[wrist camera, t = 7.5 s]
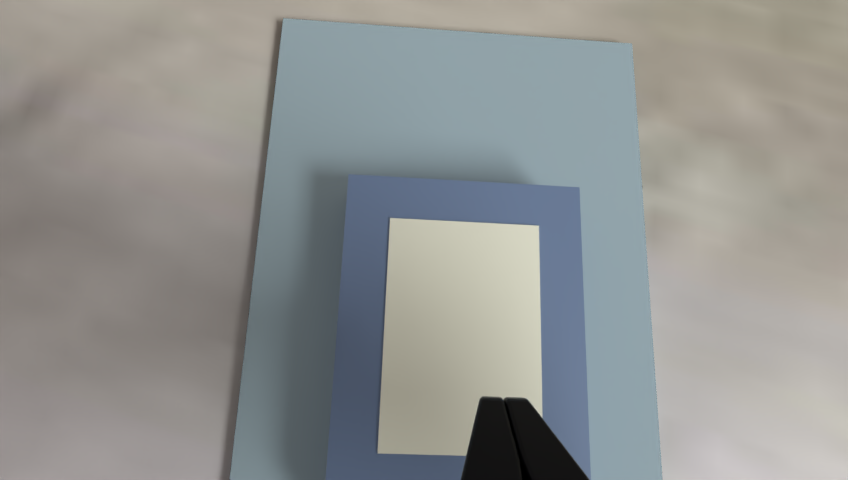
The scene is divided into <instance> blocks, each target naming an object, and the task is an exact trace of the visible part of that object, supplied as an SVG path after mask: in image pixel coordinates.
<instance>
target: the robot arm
mask: <svg viewBox="0 0 848 480" xmlns="http://www.w3.org/2000/svg"><path fill="white" fill-rule="evenodd" d="M461 480H590V479H589V478H588V477H587V475H586V474H585V473H584V472H583V470H582V469H581V468H580V466H579V465H578V464H577V462H576V461H575V460H574V459H573V457H572V456H571V455H570V453H569V452H568V451H567V449H566V448H565V447H564V446H563V444H562V443H561V442H560V440H559V439H558V438H557V436H556V435H555V434H554V433H553V431H552V430H551V429H550V427H549V426H548V425H547V423H546V422H545V421H544V420H543V418H542V417H541V416H540V414H539V413H538V412H537V410H536V409H535V408H534V406H533V405H532V404H531V403H530V401H529V400H528V399H526V398H522V397H505V398H504V399H502V398H501V397H493V396H482V397H481V398H480V399H479V403H478V407H477V412H476V416H475V420H474V424H473V429H472V433H471V437H470V441H469V446H468V450H467V454H466V458H465V463H464V467H463V471H462V476H461Z"/></svg>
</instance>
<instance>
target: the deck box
mask: <svg viewBox="0 0 848 480" xmlns="http://www.w3.org/2000/svg"><path fill="white" fill-rule="evenodd" d="M482 396H493V397H501V398H502V399H504V398H505V397H522V398H526V399H528V400H529V401H530V403H531V404H532V405H533V406H534V408H535V409H536V410H537V412H538V413H539V414H540V416H541V417H542V418H543V420H544V421H545V422H546V423H547V425H548V426H549V427H550V429H551V430H552V431H553V433H554V434H555V435H556V436H557V438H558V439H559V440H560V442H561V443H562V444H563V446H564V447H565V448H566V449H567V451H568V452H569V453H570V455H571V456H572V457H573V459H574V460H575V461H576V462H577V464H578V465H579V466H580V468H581V469H582V470H583V472H584V473H585V474H586V475H587V477H588V478H589V479H590V480H591V467H590V442H589V416H588V391H587V365H586V339H585V314H584V288H583V263H582V237H581V212H580V187H567V186H549V185H531V184H514V183H496V182H478V181H460V180H443V179H425V178H407V177H390V176H372V175H354V174H348V188H347V201H346V214H345V228H344V241H343V254H342V268H341V281H340V294H339V308H338V321H337V334H336V348H335V361H334V374H333V388H332V401H331V414H330V428H329V441H328V454H327V468H326V480H461V476H462V471H463V467H464V463H465V458H466V454H467V450H468V446H469V441H470V437H471V433H472V429H473V424H474V420H475V416H476V412H477V407H478V403H479V399H480V398H481V397H482Z"/></svg>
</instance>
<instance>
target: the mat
mask: <svg viewBox="0 0 848 480" xmlns="http://www.w3.org/2000/svg"><path fill="white" fill-rule="evenodd" d="M348 174H354V175H372V176H390V177H407V178H425V179H443V180H460V181H478V182H496V183H514V184H531V185H549V186H567V187H580V212H581V237H582V263H583V288H584V314H585V339H586V365H587V391H588V416H589V442H590V467H591V480H662V466H661V452H660V438H659V423H658V409H657V395H656V380H655V366H654V352H653V337H652V323H651V309H650V294H649V280H648V266H647V251H646V237H645V223H644V209H643V194H642V180H641V166H640V151H639V137H638V123H637V108H636V94H635V80H634V65H633V51H632V44H629V43H616V42H602V41H588V40H575V39H561V38H547V37H533V36H520V35H506V34H492V33H478V32H465V31H451V30H437V29H424V28H410V27H396V26H382V25H369V24H355V23H341V22H327V21H314V20H300V19H286V18H283V24H282V33H281V42H280V50H279V59H278V67H277V76H276V85H275V93H274V102H273V110H272V119H271V128H270V136H269V145H268V153H267V162H266V171H265V179H264V188H263V196H262V205H261V213H260V222H259V231H258V239H257V248H256V256H255V265H254V274H253V282H252V291H251V299H250V308H249V317H248V325H247V334H246V342H245V351H244V359H243V368H242V377H241V385H240V394H239V402H238V411H237V420H236V428H235V437H234V445H233V454H232V463H231V471H230V480H326V468H327V454H328V441H329V428H330V414H331V401H332V388H333V374H334V361H335V348H336V334H337V321H338V308H339V294H340V281H341V268H342V254H343V241H344V228H345V214H346V201H347V188H348Z"/></svg>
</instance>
